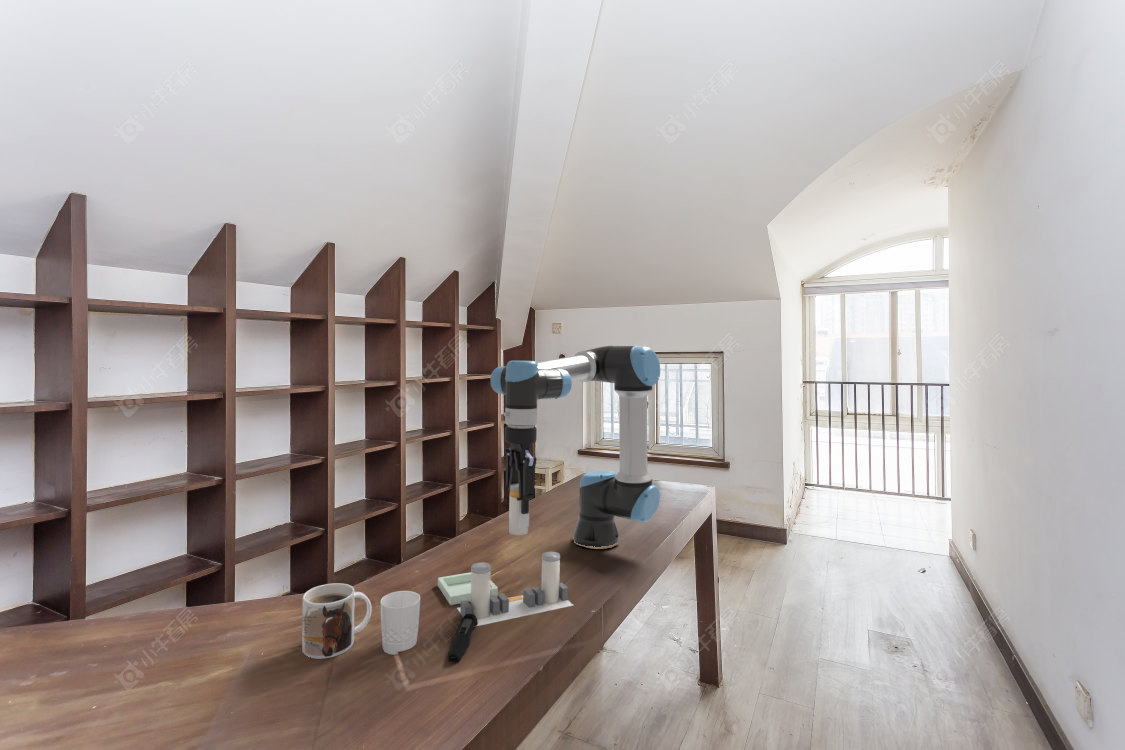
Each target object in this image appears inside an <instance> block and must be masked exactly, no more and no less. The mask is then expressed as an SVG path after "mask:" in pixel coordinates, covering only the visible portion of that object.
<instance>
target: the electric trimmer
mask: <svg viewBox="0 0 1125 750" xmlns="http://www.w3.org/2000/svg"><path fill="white" fill-rule="evenodd" d="M477 621H478V620H477V618H476V616H475V615H473V614H466V615H465V616H464V617H462V618H461V619H460V622H459V625H458V628H457V631H456V634H455V636H454V638H453V641H452V644H451V646H450V649H449V653H448V656H447V660H448V661H449V662H460V661H461V660H462V658H463V656H464V655H465V654H466V652H467V650H468V648H469V646H470V644H471V636H472V632H473V629H474V628H475V627H474V626H476V627H478V626H477V624H478V622H477Z"/></svg>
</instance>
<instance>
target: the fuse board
mask: <svg viewBox="0 0 1125 750" xmlns="http://www.w3.org/2000/svg"><path fill="white" fill-rule="evenodd" d="M522 591H523V593H522V594H521V595H516V596H511V597H508V596H506V594H505V593H504V592H503V593H502V592H501V593H498V596H497V597H496V596H495V595H491V596H490V614H489V616H488V617H486V618H481V619H477V620H478V621H477V622H478V624H477V626H474V627H473V628H476V627H479V626H480V627H481V626H484V625H488V624H489V625H490V624H494V623H498V622H502V621H508V620H512V619H518V618H523V617H526V616H531V615H536V614H541V613H544V612H551V611H554V610H559V609H564V608H567V607H573V606H574V604H573V603H572V602H571V601H570V600H569V587H568V586H567V585H566V584H564V583H563V582H560V581H559V601H558V602H557V603H554V604H547V603H544V592H543V591H542V590H541V588H540V587H538V586H534V587H531V589H530V588H524V589H523V590H522ZM456 609H457V610H458V613H460V615H461V617H462V618H463V617H464V616H465V615H466V614H472V606H471V602H468V601H467V600H465V601H461V603H460V607H457V608H456Z"/></svg>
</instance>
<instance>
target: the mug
mask: <svg viewBox="0 0 1125 750" xmlns="http://www.w3.org/2000/svg"><path fill="white" fill-rule="evenodd" d="M355 599H362V600H363V601H365V604H366V614H365V616H364V618H363V620H362V621H361V622H360V623H359V624H358V625H357V626H355V603H356V601H355ZM301 615H302V623H301V626H302V628H301V629H302V630H301V636H302V637H301V641H302V642H301V651H302V654H303V653H304V654H305V655H306V656H305V655H304V654H303V655H304V656H305V657H307V656H308V657H307V658H310V657H311V658H310V659H318V660H319V659H320V660H322V659H329V658H335V657H336V656H337V657H338V656H340V655H342V654H343V653H345V652H347V651H349V650H350V649H351V648H352V647H353V645H354V642H355V634H357V633H359V632H361V631H363V629H364V628H366V626H367V625H368V623H369V622H370V620H371V615H372V603H371V601H370V599H369V597H368V596H367V595H366V594H365V593H364V592H360V591H355V587H353V585H350V584H347V583H340V582H338V583H337V582H335V583H333V582H332V583H326V584H322V585H317V586H314V587H312V588H310V589H309V590H307V591H306V592H305V593H304V594H303V596H302V614H301Z"/></svg>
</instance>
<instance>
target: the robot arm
mask: <svg viewBox="0 0 1125 750" xmlns="http://www.w3.org/2000/svg"><path fill="white" fill-rule="evenodd" d="M660 375H661V364H660V360H659V357H658V355H657V354H656V352H655V351H654V350H653V349H652V348H650V347H648V346H643V345H605V346H600V347H595V348H591V349H587V350H581V351H578V352H577V353H575V354H574V355H573V356H571V355H570V356H566V357H561V358H554V359H550V360H549V359H548V360H542V361H539V362H538V361H536V360H509V361H508V362H507V364H506V365H505V366H498V367H496V368H495V369H494V370H493V371H492V372H491V375H490V387H491V388H492V390H493V392H495V393H497V394H498V395H499V394H501V395H504V396H505V408H504V409H505V412H503V416H504V417H505V418H504V423H505V424H506V426H505V427H504V442H505V443H507V444H510V447H509V448H508V447H507V448H506V447H505V451H504V452H505V488H506V489H507V490H508V493H509V494H510V485H511V484H515V483H519V498H517V501H518V504H517V527H518V528H520V527H527V526H528V527H530V500H532V499H535V488H536V486H535V484H536V483H535V482H536V465H537V457H536V456H532V450H531V449H532V448H531V445H532V444H535V443H536V442H537V434H538V433H537V432H538V431H537V429H538V428H537V427H536V425H537V423H538V400H544V399H545V400H548V399H549V400H551V399H556V400H557V399H559V398H560V399H561V398H564V397H566V396H567V395H569V393H570V392H571V390H572V388H573V387H572V386H573V383H572V382H576V381H579V382H582V383H587V382H600V383H601V382H602V383H610V384H613V387H614V388H613V390H614V391H615V393H616V394H618V397H619V398H618V401H619V402H618V403H619V404H618V407H619V411H618V413H619V415H618V416H619V417H618V418H619V423H618V424H619V428H618V429H619V430H618V431H619V440H618V441H619V471H618V472H617V473H616V472H614V471H610V470H600V471H599V470H598V471H590V472H585V473H583V474H582V475H581V477H580V482H579V503H578V504H579V505H578V506H579V508H578V509H579V511H578V519H577V523H576V525H575V527H574V528H575V529H574V532H573V535H572V541H573V540H574V541H575V542H576V543H578V544H581V545H585V546H593V547H594V546H595V547H601V546H609V545H613V544H615V543H617V542H618V541H619V542H620V536H619V532H618V527H617V525H616V520H615V517H618V518H622V519H626V520H630V521H631V522H639V523H646V522H649V521H650V520H651V519H652V518H653V517H654V515H656V512H657V510H658V508H659V504H660V501H661V499H660V498H661V492H660V489H659V488H658V486H656V485H654V484H653V476H652V475H651V474H650V473H649V472H648V396H649V394H650V393H651V392H653V386H654V385H656V384H658V382H659V379H660ZM508 500H509V501H508V502H509V504H508V505H509V506H508V507H509V509H508V519H509V518H510V495H509V499H508Z"/></svg>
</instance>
